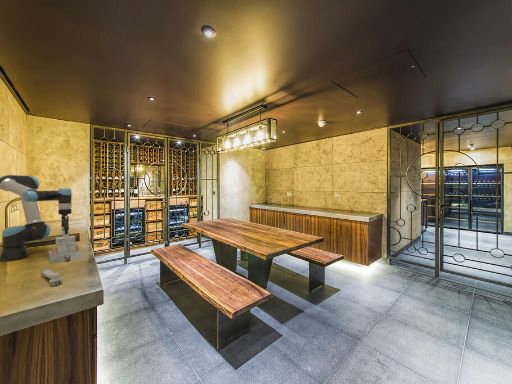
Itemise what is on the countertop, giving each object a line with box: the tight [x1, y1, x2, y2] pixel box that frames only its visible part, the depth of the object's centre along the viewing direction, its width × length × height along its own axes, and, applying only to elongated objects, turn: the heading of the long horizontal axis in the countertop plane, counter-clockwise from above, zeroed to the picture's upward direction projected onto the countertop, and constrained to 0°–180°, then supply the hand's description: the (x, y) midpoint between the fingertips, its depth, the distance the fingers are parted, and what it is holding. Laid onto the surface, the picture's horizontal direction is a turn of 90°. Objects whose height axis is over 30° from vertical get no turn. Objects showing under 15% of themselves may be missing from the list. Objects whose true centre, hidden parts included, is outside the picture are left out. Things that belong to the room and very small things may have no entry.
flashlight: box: [40, 268, 63, 287], centre depth 129 cm, size 5×7×25 cm
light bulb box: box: [55, 235, 76, 253], centre depth 170 cm, size 11×7×11 cm, turn 141°
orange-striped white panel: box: [47, 243, 84, 264], centre depth 169 cm, size 23×18×8 cm
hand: (65, 236), depth 170 cm, fingers open, 13 cm apart
